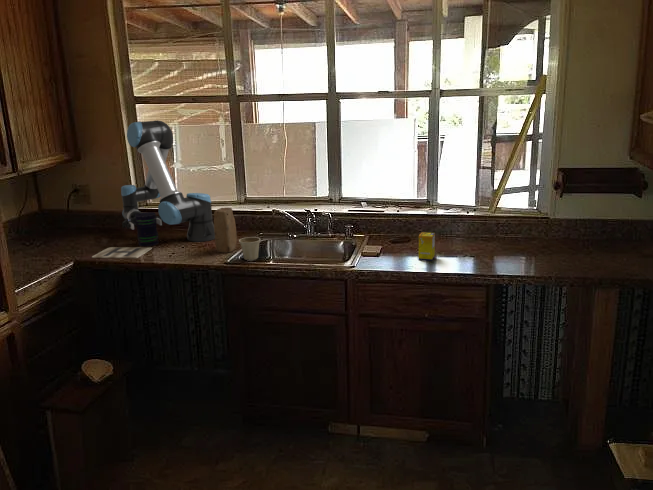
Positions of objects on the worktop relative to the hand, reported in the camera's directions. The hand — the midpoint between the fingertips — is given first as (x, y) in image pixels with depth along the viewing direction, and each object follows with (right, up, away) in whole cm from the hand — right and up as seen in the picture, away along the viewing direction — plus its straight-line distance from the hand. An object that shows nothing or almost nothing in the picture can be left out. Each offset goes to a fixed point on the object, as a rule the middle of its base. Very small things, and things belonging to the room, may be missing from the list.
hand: (147, 224), depth 283 cm
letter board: (-8, -14, -12) cm, 20 cm away
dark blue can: (-1, -9, +4) cm, 10 cm away
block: (+41, -13, -12) cm, 45 cm away
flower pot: (+54, -16, -27) cm, 63 cm away
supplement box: (+131, -16, -36) cm, 137 cm away
